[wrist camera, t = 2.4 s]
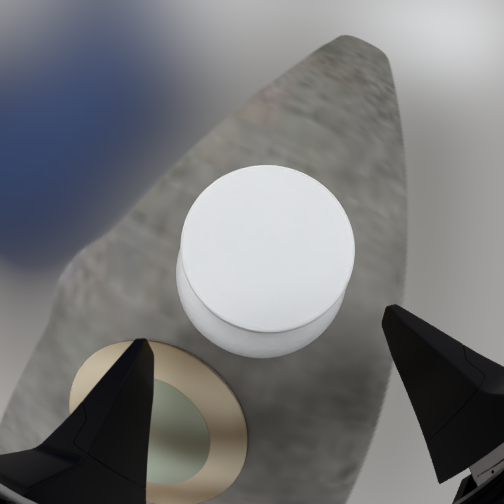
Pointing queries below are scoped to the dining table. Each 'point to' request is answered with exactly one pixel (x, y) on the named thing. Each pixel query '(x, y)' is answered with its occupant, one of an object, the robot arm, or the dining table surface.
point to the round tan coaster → (181, 424)
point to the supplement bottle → (264, 261)
